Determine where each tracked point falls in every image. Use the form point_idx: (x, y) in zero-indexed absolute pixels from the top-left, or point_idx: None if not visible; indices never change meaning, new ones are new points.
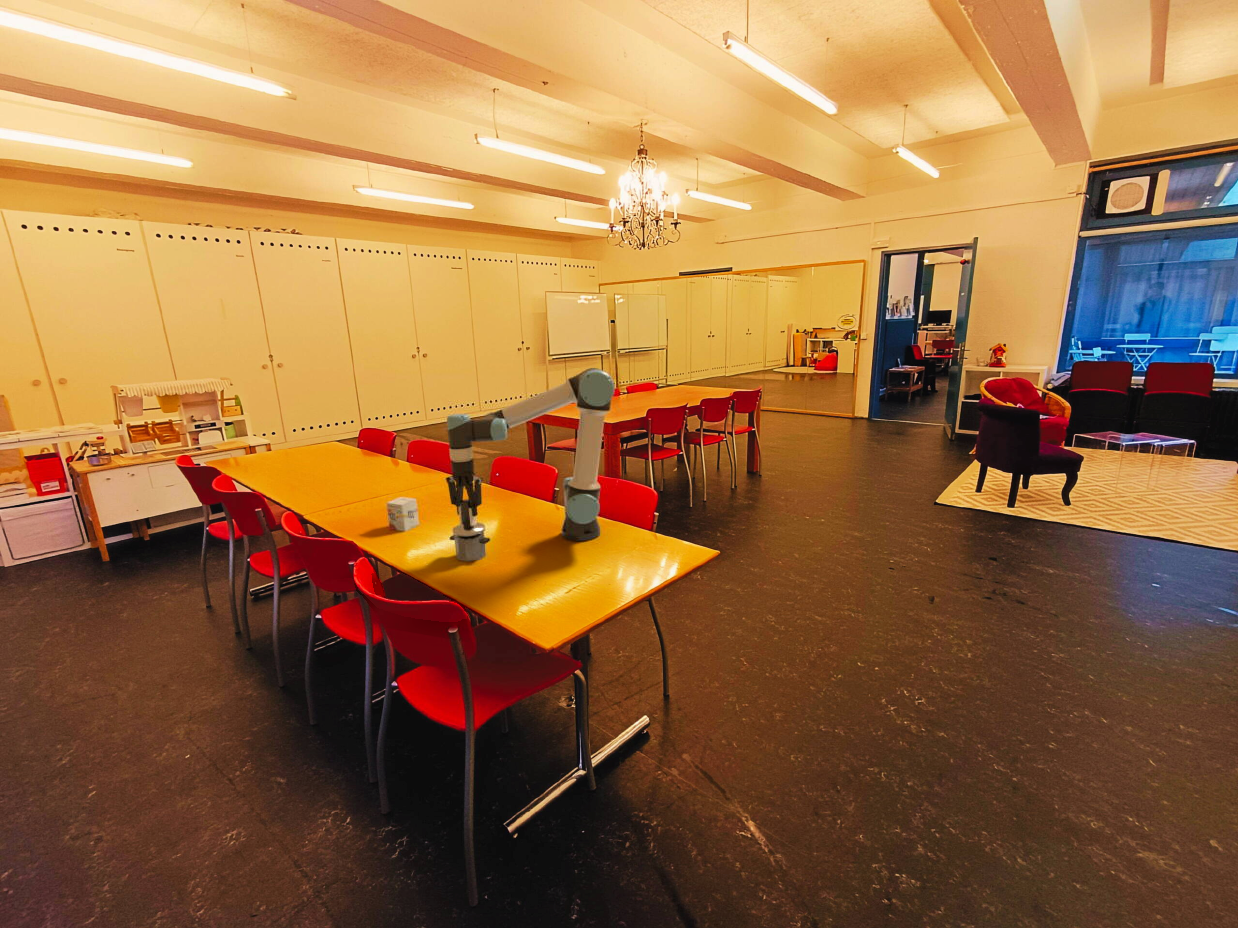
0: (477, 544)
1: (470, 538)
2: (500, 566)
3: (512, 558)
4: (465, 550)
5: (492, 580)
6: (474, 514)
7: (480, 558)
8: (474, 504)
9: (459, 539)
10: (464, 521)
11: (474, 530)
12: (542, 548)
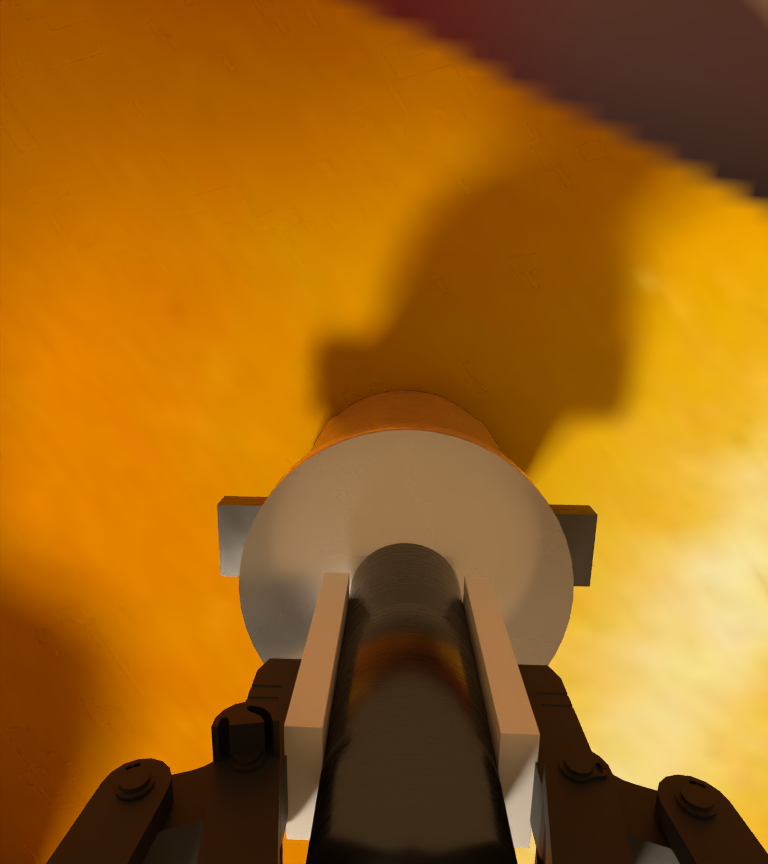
0: None
1: None
2: (103, 379)
3: (104, 514)
4: (374, 405)
5: (13, 153)
6: (267, 676)
7: None
8: (199, 807)
9: None
10: (419, 589)
11: (296, 536)
12: (13, 695)
